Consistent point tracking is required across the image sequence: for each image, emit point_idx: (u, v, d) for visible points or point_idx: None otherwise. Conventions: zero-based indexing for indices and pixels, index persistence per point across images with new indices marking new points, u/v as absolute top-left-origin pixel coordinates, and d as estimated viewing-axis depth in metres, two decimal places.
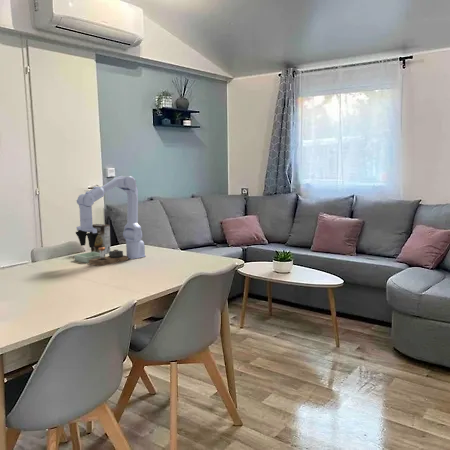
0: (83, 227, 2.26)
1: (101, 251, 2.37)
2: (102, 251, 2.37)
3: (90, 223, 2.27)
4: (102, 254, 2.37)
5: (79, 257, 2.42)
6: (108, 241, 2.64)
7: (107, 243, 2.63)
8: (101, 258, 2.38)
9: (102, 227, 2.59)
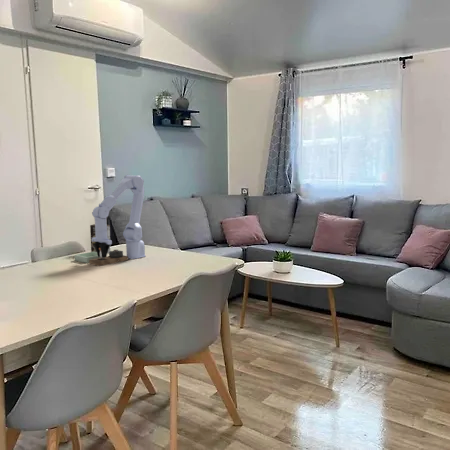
0: (98, 238, 2.35)
1: None
2: None
3: (105, 235, 2.36)
4: None
5: (79, 257, 2.42)
6: None
7: None
8: (101, 258, 2.38)
9: None
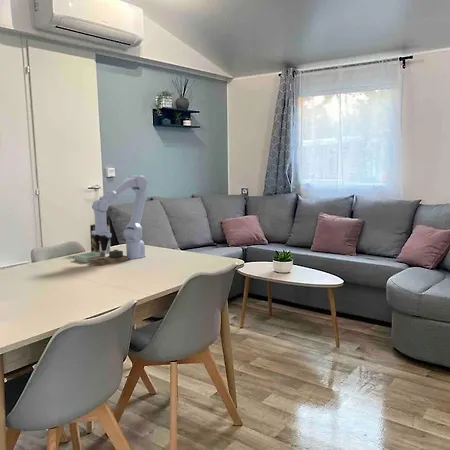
0: (98, 231, 2.34)
1: None
2: None
3: (105, 228, 2.35)
4: None
5: (79, 257, 2.42)
6: (108, 241, 2.64)
7: None
8: (101, 251, 2.37)
9: None
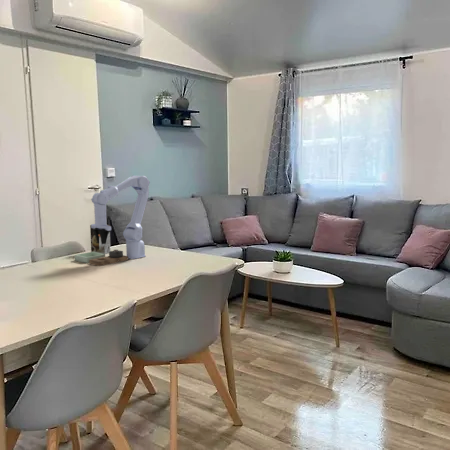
0: (98, 225, 2.34)
1: (100, 237, 2.36)
2: None
3: (104, 221, 2.35)
4: None
5: (79, 257, 2.42)
6: (108, 241, 2.64)
7: (107, 243, 2.63)
8: (100, 244, 2.37)
9: None
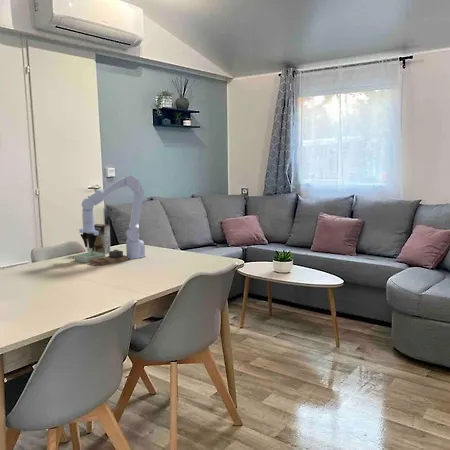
0: (85, 229, 2.41)
1: None
2: None
3: (92, 226, 2.42)
4: None
5: (79, 257, 2.42)
6: (108, 241, 2.64)
7: (107, 243, 2.63)
8: (89, 249, 2.44)
9: (102, 227, 2.59)
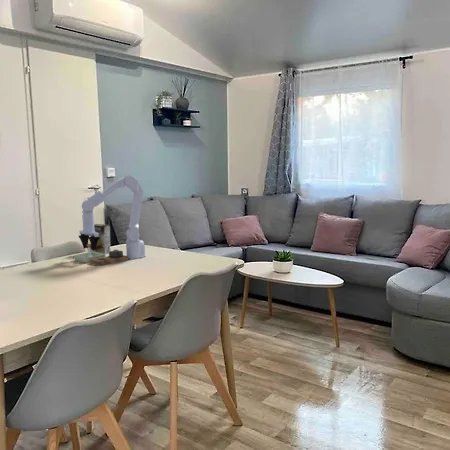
0: (86, 231, 2.41)
1: (89, 248, 2.44)
2: (90, 248, 2.44)
3: (92, 227, 2.42)
4: (90, 250, 2.44)
5: (79, 257, 2.42)
6: (108, 241, 2.64)
7: (107, 243, 2.63)
8: (89, 254, 2.44)
9: (102, 227, 2.59)
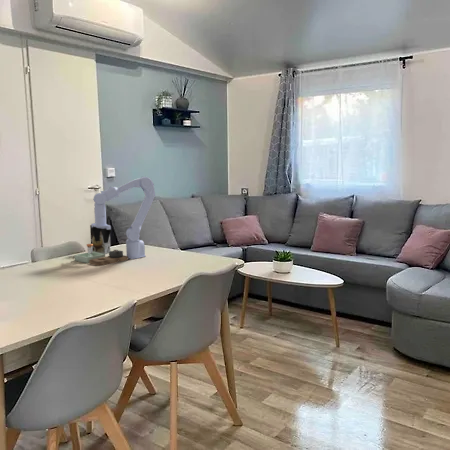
0: (98, 224, 2.42)
1: (89, 248, 2.44)
2: (90, 248, 2.44)
3: (104, 220, 2.44)
4: (90, 250, 2.44)
5: (79, 257, 2.42)
6: (108, 241, 2.64)
7: (107, 243, 2.63)
8: (89, 254, 2.44)
9: None
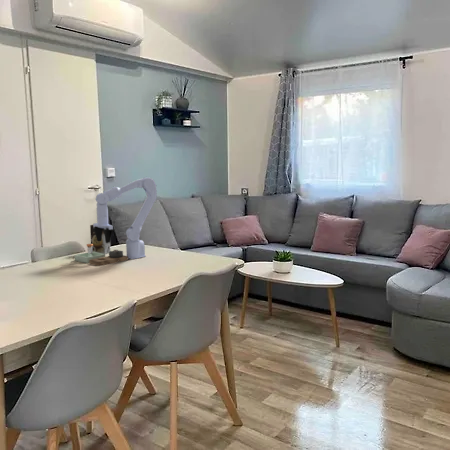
0: (100, 224, 2.43)
1: (89, 248, 2.44)
2: (90, 248, 2.44)
3: (106, 220, 2.44)
4: (90, 250, 2.44)
5: (79, 257, 2.42)
6: None
7: (107, 243, 2.63)
8: (89, 254, 2.44)
9: None
